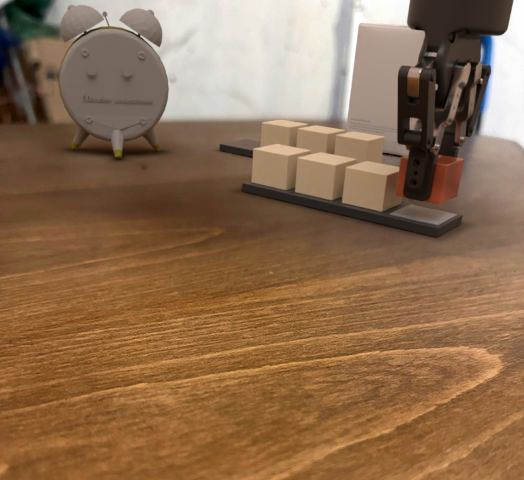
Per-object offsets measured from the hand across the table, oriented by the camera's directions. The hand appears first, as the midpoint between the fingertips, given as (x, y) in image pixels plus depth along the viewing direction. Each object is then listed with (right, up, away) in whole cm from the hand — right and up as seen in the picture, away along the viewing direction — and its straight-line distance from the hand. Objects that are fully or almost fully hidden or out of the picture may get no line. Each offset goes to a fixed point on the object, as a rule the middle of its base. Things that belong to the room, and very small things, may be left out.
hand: (427, 193), depth 57 cm
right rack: (-6, 0, +5) cm, 8 cm away
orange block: (0, 0, 0) cm, 0 cm away
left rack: (-10, +9, +22) cm, 26 cm away
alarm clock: (-31, +9, +20) cm, 38 cm away
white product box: (+3, +14, +33) cm, 36 cm away
